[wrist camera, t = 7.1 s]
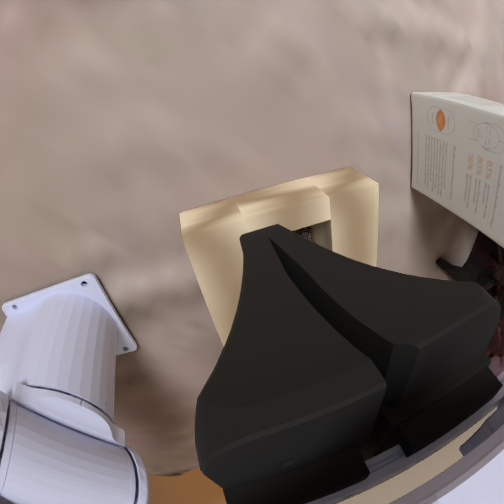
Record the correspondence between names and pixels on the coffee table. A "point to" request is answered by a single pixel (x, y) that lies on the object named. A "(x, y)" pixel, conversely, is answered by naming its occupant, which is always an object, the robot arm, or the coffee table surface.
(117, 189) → the coffee table surface
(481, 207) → the small box
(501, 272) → the flower arrangement
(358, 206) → the button board
